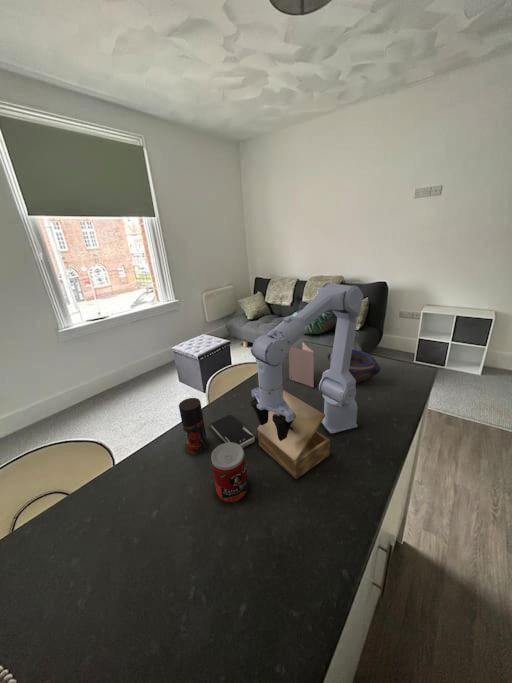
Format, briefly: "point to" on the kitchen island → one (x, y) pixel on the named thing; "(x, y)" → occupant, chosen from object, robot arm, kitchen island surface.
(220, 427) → the smartphone
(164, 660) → the kitchen island surface
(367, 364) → the bowl
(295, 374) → the greeting card
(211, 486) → the kitchen island surface
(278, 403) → the robot arm
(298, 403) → the lid
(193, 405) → the deodorant
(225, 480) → the canned food
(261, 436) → the compartment
